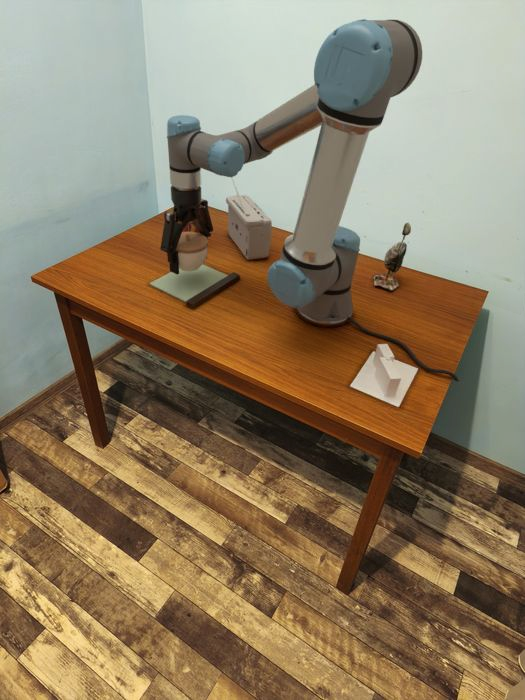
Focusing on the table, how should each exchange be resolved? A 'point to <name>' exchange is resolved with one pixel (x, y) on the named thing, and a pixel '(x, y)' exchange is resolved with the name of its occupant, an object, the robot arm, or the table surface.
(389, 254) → the plant with pod
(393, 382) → the napkin holder
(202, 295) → the divider
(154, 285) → the mat
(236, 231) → the radio
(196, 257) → the trinket box
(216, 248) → the table surface
